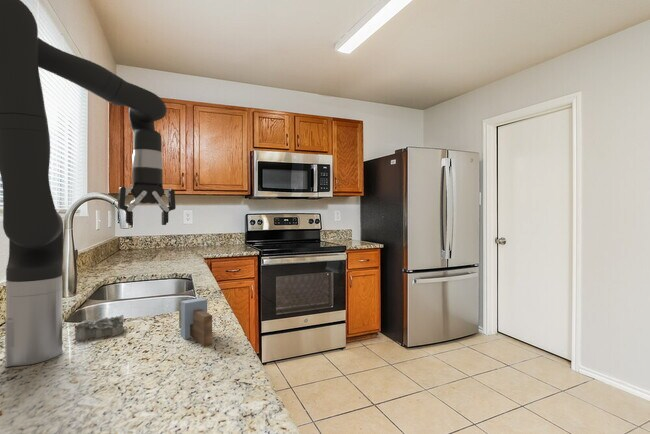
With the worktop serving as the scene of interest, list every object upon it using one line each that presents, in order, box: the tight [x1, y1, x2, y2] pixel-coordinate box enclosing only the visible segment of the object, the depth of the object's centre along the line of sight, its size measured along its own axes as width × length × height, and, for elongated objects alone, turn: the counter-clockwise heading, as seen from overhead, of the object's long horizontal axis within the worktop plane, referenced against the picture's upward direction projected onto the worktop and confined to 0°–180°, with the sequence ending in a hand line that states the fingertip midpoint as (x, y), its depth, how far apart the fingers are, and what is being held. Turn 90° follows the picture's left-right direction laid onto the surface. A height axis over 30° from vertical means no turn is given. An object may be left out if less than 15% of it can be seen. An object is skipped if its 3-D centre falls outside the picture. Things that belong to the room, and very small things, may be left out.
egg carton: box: [74, 314, 125, 341], centre depth 88 cm, size 11×8×4 cm
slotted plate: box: [178, 301, 213, 348], centre depth 86 cm, size 2×18×7 cm, turn 41°
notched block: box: [180, 297, 208, 340], centre depth 86 cm, size 6×3×9 cm, turn 131°
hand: (147, 225), depth 95 cm, fingers open, 8 cm apart
